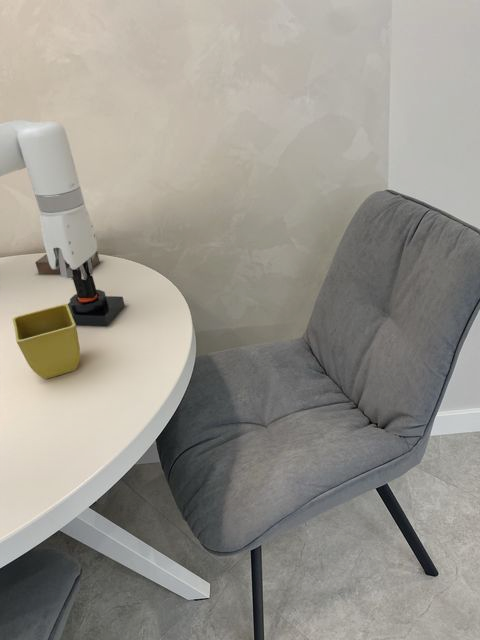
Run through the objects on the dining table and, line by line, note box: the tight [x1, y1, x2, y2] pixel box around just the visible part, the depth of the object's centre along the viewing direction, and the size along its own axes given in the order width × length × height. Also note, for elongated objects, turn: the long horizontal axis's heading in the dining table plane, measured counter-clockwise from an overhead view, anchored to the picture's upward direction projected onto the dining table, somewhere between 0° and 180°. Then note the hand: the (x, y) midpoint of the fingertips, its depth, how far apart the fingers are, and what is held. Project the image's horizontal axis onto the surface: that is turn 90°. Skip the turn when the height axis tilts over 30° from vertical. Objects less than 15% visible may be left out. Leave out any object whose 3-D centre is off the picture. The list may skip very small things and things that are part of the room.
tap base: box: [34, 250, 101, 275], centre depth 126 cm, size 12×9×3 cm
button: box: [78, 295, 98, 302], centre depth 104 cm, size 4×4×2 cm
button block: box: [66, 289, 126, 327], centre depth 104 cm, size 10×8×4 cm
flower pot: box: [12, 303, 81, 380], centre depth 88 cm, size 9×9×9 cm
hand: (88, 296), depth 103 cm, fingers closed
